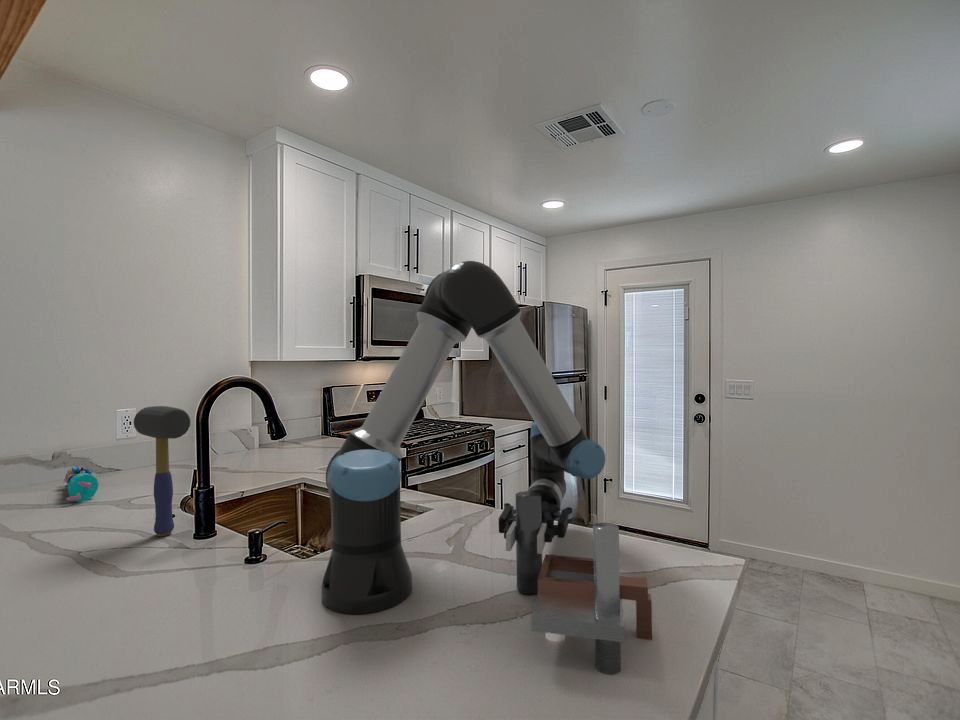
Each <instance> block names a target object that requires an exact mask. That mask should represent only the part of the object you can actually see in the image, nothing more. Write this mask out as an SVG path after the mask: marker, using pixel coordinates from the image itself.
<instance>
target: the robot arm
mask: <svg viewBox="0 0 960 720" xmlns="http://www.w3.org/2000/svg"><path fill="white" fill-rule="evenodd" d="M425 290H426V291H425V293H424V300H423V301H422V303H421V305H420V306H419V309H418V311H417V312H416V318H417V322H418V324H417V325H418V326H417V327H416V328H415V331H414V332H413V334H412V336H411V337H410V340H409V341H408V343H407V345H406V347H405V349H404V350H403V352H402V354H401V356H400V358H399V359H398V361H397V363H396V365H395V367H394V368H393V370H392V372H391V373H390V375H389V377H388V379H387V381H386V383H385V385H384V386H383V388H382V390H381V391H380V394H379V395H378V397H377V399H376V400H375V403H374V404H373V406H372V408H371V410H370V411H369V413H368V414H367V417H366V418H365V420H364V422H363V424H362V425H361V426H360V427H358V428H355V429H352V430H350V432H349V434H347V437H346V439H345V440H344V442H343V444H342V445H341V447H340V448H339V449H338V451H336V452H335V453H334V454H333V456H332V457H331V458H330V460H329V461H328V464H327V467H326V469H325V470H326V471H325V484H326V487H327V492H328V495H329V500H330V519H331V520H330V527H331V553H330V555H329V560H328V563H327V565H326V569H325V572H324V575H323V579H322V582H321V602H322V604H323V605H324V606H325V607H326V608H328V609H329V610H330V611H334V612H337V613H341V614H349V615H353V614H354V615H359V614H360V615H362V614H369V613H376V612H379V611H383V610H387V609H389V608H392V607H395V606H396V605H398V604H400V603H402V602H403V601H405V600H406V599H407V598H408V597H409V595H410V594H411V593H412V590H413V575H412V571H411V568H410V566H409V562H408V560H407V557H406V553H405V552H404V551H405V550H404V548H403V546H402V523H401V519H402V518H401V481H402V480H401V479H402V472H401V468H400V462H401V460H402V458H403V455H402V451H401V445H402V442H403V441H404V440H405V437H406V435H407V433H408V432H409V430H410V428H411V426H412V424H413V422H414V420H415V419H416V417H417V415H418V413H419V411H420V410H421V408H422V406H423V404H424V402H425V400H426V398H427V397H428V395H429V393H430V391H431V389H432V387H433V385H434V384H435V382H436V381H437V377H438V376H439V374H440V372H441V370H442V368H443V367H444V365H445V363H446V361H447V359H448V358H449V356H450V354H451V352H452V350H453V348H454V347H455V345H457V344H459V343H463V342H465V341H466V339H467V338H468V336H469V334H470V332H471V330H472V329H473V331H474V333H475V334H476V336H477V337H478V338H480V339H484V340H485V341H486V342H487V344H488V346H489V347H490V350H492V352H493V354H494V356H495V358H496V359H497V361H498V362H499V364H500V366H501V368H502V370H503V371H504V373H505V375H506V376H507V378H508V379H509V381H510V382H511V384H512V386H513V388H514V389H515V391H516V392H517V394H518V396H519V398H520V399H521V401H522V403H523V405H524V406H525V408H526V410H527V411H528V414H530V416H531V418H532V420H533V422H532V423H531V424H530V436H529V440H530V464H531V465H530V486H529V487H528V488H527V491H532V492H538V493H540V494H541V514H542V526H541V528H540V530H539V533H538V535H537V554H542V555H543V551H544V549H545V545H546V544H549V543H552V541H553V539H554V538H555V536H557V538H559V539H564V538H565V536H566V534H567V530H568V527H569V524H572V522H573V508H572V507H570V506H568V507H566V508H561V506H562V503H563V499H564V497H565V494H566V491H567V482H566V479H565V473H567V474H569V475H571V476H573V477H576V478H580V479H584V480H590V479H594V478H596V477H597V476H599V475H600V473H601V472H602V471H603V470H604V468H605V464H606V454H605V450H604V448H603V447H602V446H601V445H600V444H598V442H595V441H594V440H592V439H589V438H588V436H587V435H586V433H585V431H584V430H583V429H582V426H581V424H580V423H579V421H578V419H577V418H576V416H575V414H574V411H572V409H571V407H570V406H569V404H568V401H567V399H566V398H565V396H564V395H563V393H562V391H561V389H560V388H559V386H558V384H557V382H556V381H555V379H554V376H553V375H552V374H551V372H550V370H549V368H548V367H547V365H546V363H545V361H544V360H543V358H542V356H541V354H540V352H539V351H538V349H537V347H536V345H535V344H534V342H533V340H532V338H531V337H530V334H529V332H528V331H527V329H526V327H525V326H524V324H523V322H522V320H521V319H520V318H521V315H522V310H521V308H520V306H519V305H518V303H517V302H516V299H515V297H514V296H513V294H512V293H511V291H510V289H509V288H508V287H507V285H506V284H505V282H504V280H503V279H502V278H501V277H500V275H498V274H497V273H496V271H495V270H494V269H492V268H491V267H490V266H489V265H487V264H485V263H484V262H483V263H482V262H480V261H475V260H466V261H461V262H459V263H457V264H455V265H453V266H452V267H450V268H449V269H447V270H446V271H443V272H441V273H439V274H437V275H436V276H435V277H434V278H433V279H432V280H431V281H430V283H429V284H428V286H427V288H426V289H425ZM503 506H504V508H503V511H502V512H501V514H500V515H499V517H498V533H499V534H503V539H505V551H506V552H511V551H512V549H513V547H514V545H515V544H516V506H514V505H512V504H511V503H509V502H506V503H504V504H503ZM556 519H558V520H557V524H555V521H556Z"/></svg>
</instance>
